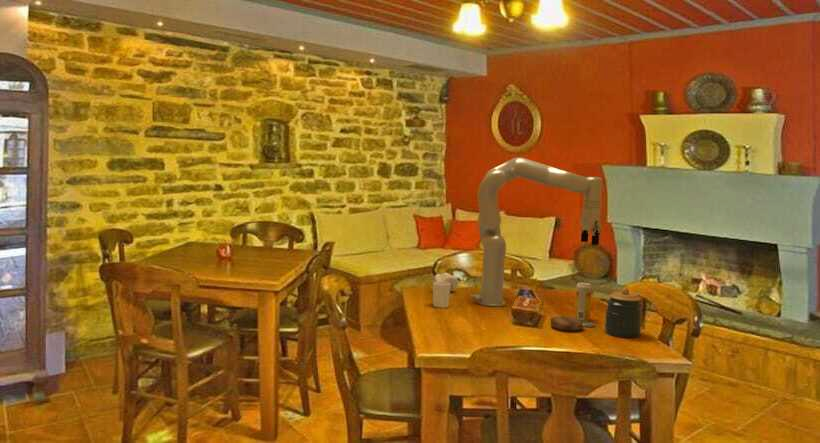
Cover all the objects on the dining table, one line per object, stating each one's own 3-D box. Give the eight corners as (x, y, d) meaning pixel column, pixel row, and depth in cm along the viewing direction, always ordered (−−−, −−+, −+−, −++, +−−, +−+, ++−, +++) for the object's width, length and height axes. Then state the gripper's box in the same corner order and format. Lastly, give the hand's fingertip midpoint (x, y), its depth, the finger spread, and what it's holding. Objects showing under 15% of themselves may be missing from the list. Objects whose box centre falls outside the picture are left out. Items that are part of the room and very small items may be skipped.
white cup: (429, 306, 260) (430, 283, 259) (435, 303, 267) (436, 280, 266) (446, 309, 257) (447, 285, 256) (452, 305, 264) (453, 282, 263)
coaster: (581, 327, 235) (581, 325, 235) (573, 322, 242) (573, 321, 242) (598, 327, 236) (598, 325, 236) (590, 322, 243) (590, 321, 243)
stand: (557, 332, 227) (558, 324, 226) (545, 323, 238) (546, 316, 238) (587, 332, 228) (588, 324, 228) (574, 323, 240) (574, 316, 240)
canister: (636, 340, 220) (640, 293, 218) (600, 334, 226) (603, 288, 225) (643, 332, 231) (647, 287, 229) (609, 326, 238) (612, 282, 236)
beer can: (589, 318, 249) (592, 283, 248) (589, 322, 243) (591, 285, 242) (574, 317, 251) (577, 281, 249) (573, 320, 245) (576, 284, 244)
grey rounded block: (448, 296, 282) (449, 277, 281) (426, 292, 288) (427, 274, 287) (460, 292, 291) (460, 274, 290) (438, 288, 298) (439, 270, 297)
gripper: (575, 203, 273) (572, 240, 275) (593, 206, 256) (591, 246, 258) (590, 203, 275) (588, 240, 276) (609, 206, 258) (607, 246, 259)
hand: (589, 243), depth 267 cm, fingers open, 9 cm apart
